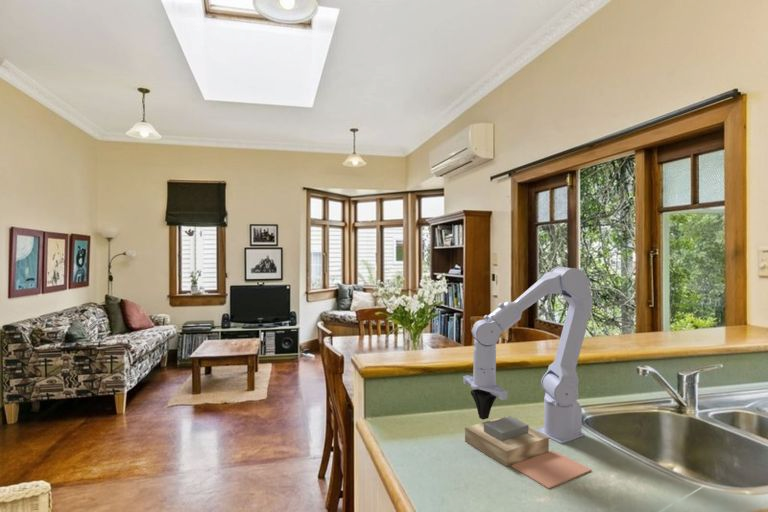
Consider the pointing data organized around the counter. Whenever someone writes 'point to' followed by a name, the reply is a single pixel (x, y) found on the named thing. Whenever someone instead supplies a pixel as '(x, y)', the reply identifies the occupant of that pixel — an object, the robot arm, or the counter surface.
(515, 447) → the birch deck
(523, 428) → the slate tile
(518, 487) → the counter surface
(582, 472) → the terracotta mat
